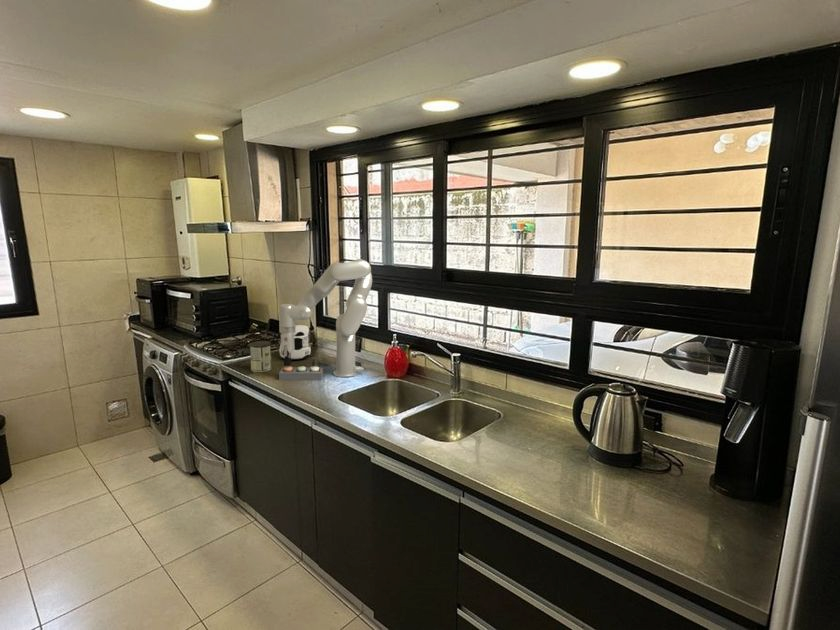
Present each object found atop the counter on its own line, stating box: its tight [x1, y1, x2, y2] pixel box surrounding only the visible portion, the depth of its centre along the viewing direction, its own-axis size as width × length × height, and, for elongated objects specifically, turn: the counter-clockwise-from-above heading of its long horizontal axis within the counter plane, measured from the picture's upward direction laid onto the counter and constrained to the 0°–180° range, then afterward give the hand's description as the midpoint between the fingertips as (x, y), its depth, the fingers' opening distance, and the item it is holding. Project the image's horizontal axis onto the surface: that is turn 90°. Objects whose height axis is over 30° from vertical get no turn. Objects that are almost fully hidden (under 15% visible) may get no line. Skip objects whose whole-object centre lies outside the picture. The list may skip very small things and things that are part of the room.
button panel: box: [278, 366, 324, 381], centre depth 216 cm, size 20×10×4 cm, turn 97°
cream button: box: [310, 365, 319, 372], centre depth 217 cm, size 4×4×2 cm
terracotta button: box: [283, 365, 293, 372], centre depth 215 cm, size 4×4×2 cm
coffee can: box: [249, 340, 272, 373], centre depth 225 cm, size 10×10×14 cm
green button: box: [296, 365, 306, 372], centre depth 216 cm, size 4×4×2 cm
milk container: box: [278, 324, 312, 361], centre depth 248 cm, size 17×17×18 cm
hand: (287, 365), depth 214 cm, fingers closed
